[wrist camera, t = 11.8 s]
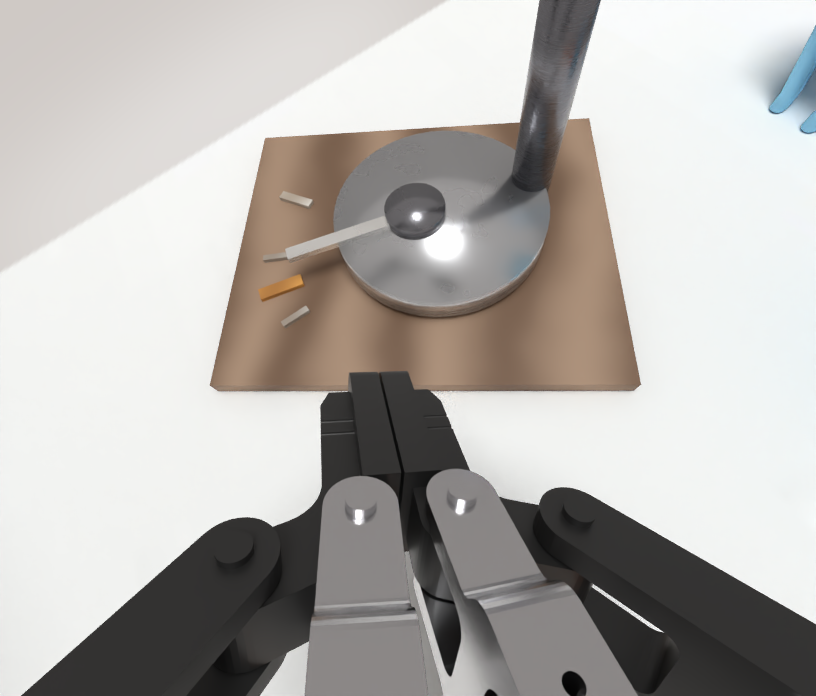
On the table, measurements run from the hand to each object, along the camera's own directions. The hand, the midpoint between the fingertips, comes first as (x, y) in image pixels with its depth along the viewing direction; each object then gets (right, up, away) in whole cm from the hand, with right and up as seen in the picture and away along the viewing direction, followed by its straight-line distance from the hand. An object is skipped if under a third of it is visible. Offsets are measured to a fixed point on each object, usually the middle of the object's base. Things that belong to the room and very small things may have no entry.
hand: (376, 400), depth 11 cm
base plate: (+2, +8, +18) cm, 19 cm away
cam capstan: (+2, +9, +16) cm, 19 cm away
